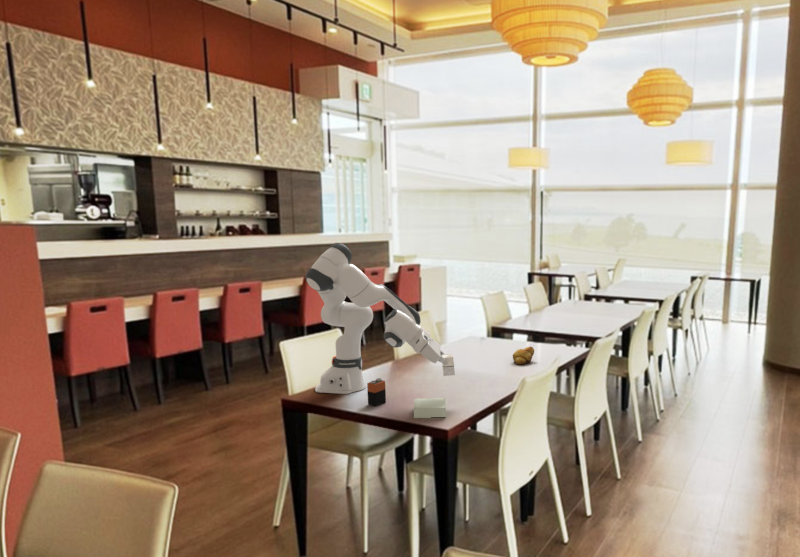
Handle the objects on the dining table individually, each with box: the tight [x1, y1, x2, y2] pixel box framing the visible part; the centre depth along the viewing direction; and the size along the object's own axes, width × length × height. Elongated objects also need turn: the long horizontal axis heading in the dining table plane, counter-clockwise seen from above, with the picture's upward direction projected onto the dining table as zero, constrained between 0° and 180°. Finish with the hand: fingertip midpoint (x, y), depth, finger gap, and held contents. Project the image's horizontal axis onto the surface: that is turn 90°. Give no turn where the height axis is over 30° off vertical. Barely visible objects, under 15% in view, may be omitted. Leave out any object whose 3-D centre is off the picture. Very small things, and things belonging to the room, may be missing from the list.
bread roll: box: [512, 346, 535, 365], centre depth 286 cm, size 13×10×8 cm
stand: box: [413, 397, 447, 419], centre depth 213 cm, size 12×11×4 cm
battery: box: [366, 377, 387, 407], centre depth 227 cm, size 4×7×10 cm, turn 140°
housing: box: [441, 353, 456, 377], centre depth 222 cm, size 5×5×8 cm
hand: (446, 361), depth 222 cm, fingers closed on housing, 4 cm apart
